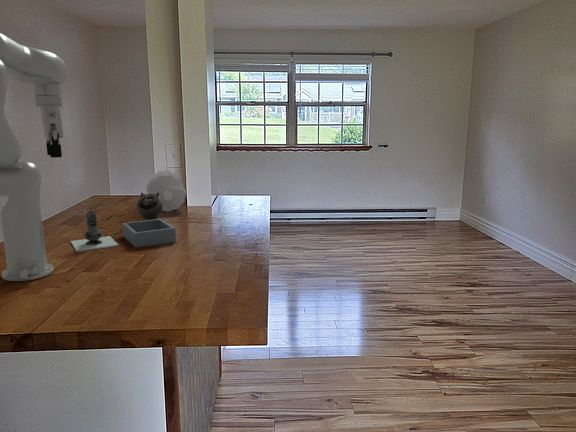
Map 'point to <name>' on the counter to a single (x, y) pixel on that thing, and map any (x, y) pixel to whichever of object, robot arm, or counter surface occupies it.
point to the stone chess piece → (92, 229)
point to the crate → (149, 232)
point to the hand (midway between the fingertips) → (54, 156)
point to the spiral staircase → (167, 189)
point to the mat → (81, 245)
